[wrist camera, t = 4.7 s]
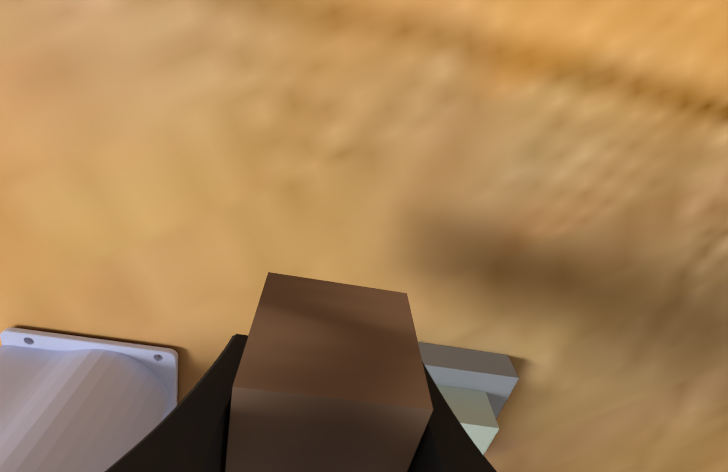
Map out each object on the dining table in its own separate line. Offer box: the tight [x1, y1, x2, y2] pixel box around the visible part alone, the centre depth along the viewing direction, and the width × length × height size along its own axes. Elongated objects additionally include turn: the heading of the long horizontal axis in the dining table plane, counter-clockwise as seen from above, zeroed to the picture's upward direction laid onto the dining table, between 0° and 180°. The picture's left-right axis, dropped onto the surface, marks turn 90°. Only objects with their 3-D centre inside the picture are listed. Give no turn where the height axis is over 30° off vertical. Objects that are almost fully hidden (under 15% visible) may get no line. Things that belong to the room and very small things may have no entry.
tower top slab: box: [436, 384, 499, 455], centre depth 24 cm, size 7×7×2 cm
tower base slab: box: [418, 342, 519, 419], centre depth 26 cm, size 10×10×2 cm
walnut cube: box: [225, 272, 433, 472], centre depth 12 cm, size 4×4×4 cm
